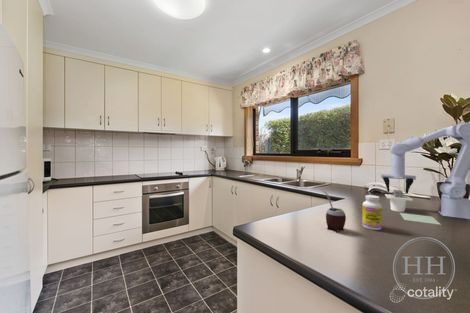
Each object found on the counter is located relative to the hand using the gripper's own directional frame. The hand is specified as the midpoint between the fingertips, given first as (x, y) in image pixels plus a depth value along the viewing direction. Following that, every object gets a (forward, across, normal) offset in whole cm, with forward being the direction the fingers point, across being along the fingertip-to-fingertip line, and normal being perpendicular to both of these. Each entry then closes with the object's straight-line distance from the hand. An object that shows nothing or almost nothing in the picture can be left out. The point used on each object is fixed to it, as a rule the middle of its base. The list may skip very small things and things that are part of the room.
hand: (397, 192), depth 109 cm
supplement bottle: (+10, -13, -37) cm, 40 cm away
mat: (+9, +6, -14) cm, 18 cm away
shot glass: (+10, 0, -2) cm, 10 cm away
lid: (+2, 0, -2) cm, 3 cm away
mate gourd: (+10, -26, -47) cm, 54 cm away
